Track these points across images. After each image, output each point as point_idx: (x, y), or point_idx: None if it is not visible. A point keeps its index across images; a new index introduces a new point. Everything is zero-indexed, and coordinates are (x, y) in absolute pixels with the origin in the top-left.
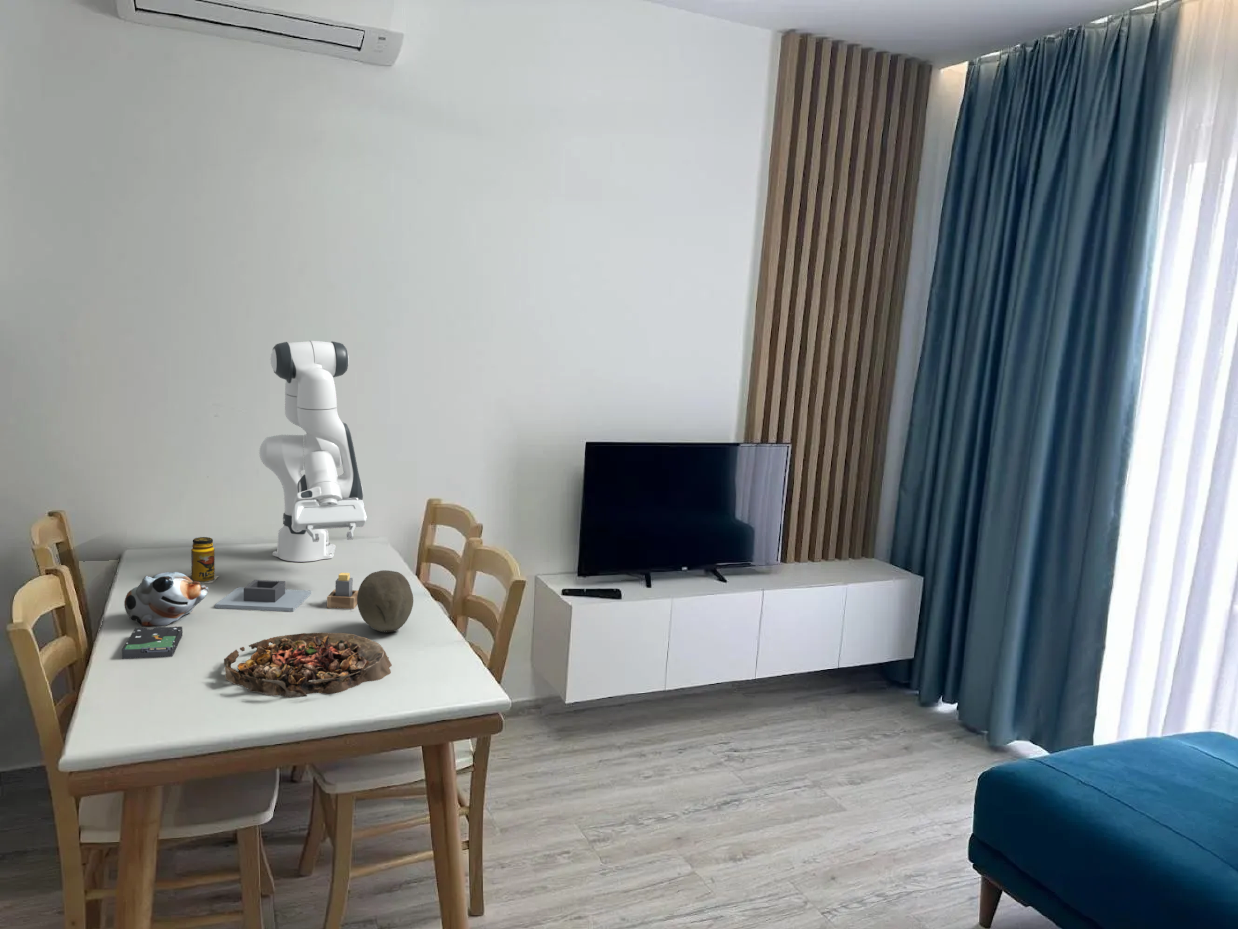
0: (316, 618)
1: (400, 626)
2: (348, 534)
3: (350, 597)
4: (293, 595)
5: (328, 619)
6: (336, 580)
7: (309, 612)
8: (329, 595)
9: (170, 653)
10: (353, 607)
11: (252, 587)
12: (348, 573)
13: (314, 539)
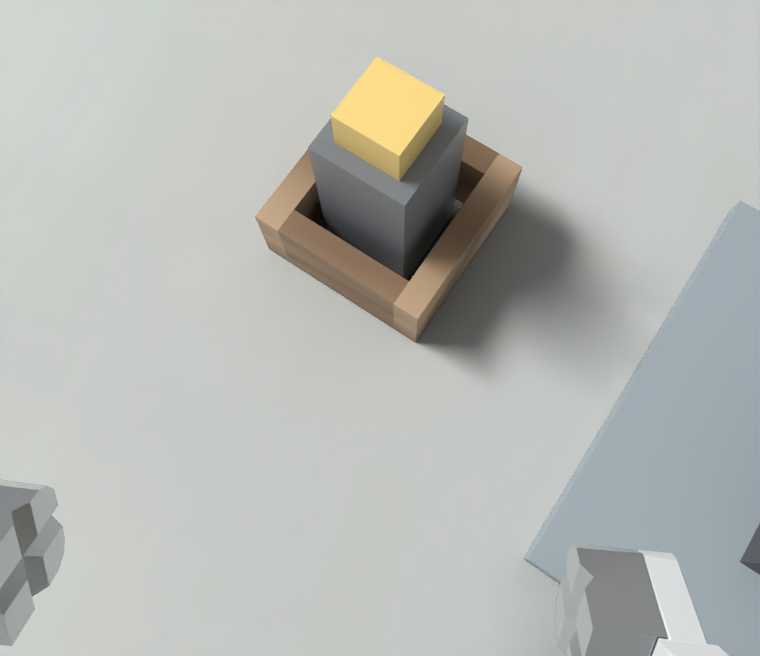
0: (621, 49)
1: None
2: (13, 518)
3: None
4: (686, 482)
5: (562, 10)
6: (456, 127)
7: (634, 163)
8: (498, 188)
9: None
10: None
11: None
12: (347, 107)
13: (655, 553)
